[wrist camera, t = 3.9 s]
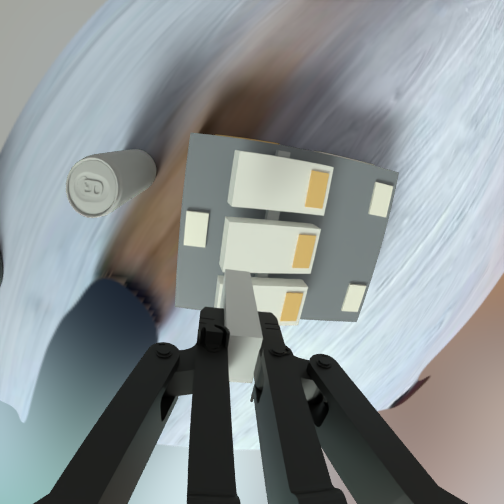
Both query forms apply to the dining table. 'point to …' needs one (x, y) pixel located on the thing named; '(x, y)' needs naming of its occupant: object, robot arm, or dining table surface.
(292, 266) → the rocker
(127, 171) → the beverage can
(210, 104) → the dining table surface
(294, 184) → the plate
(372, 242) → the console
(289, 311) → the rocker
